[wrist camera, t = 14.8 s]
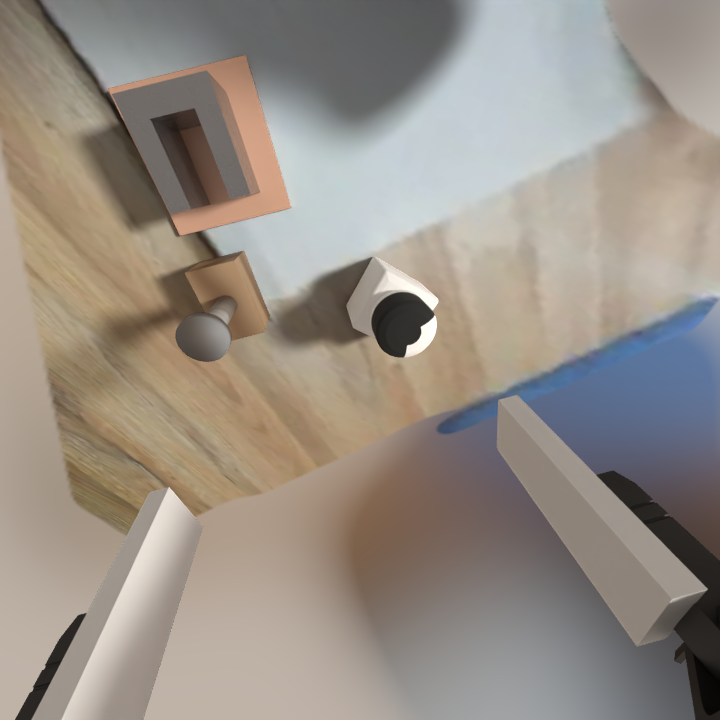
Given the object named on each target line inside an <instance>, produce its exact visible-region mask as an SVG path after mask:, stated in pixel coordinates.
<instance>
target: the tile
mask: <svg viewBox="0 0 720 720" xmlns="http://www.w3.org/2000/svg"><path fill="white" fill-rule="evenodd" d="M206 70H207V71H208V72H209V73H210V74H211V76H212V77H213V78H214V79H215V80H216V81H217V82H218V83H219V84H220V85H221V87H222V88H223V89H224V90H225V91H226V92H227V95H228V98H229V101H230V104H231V107H232V110H233V113H234V116H235V119H236V122H237V125H238V128H239V131H240V134H241V136H242V139H243V142H244V145H245V148H246V151H247V154H248V157H249V160H250V163H251V166H252V169H253V172H254V175H255V178H256V181H257V184H258V187H259V190H260V193H256V194H252V195H248V196H244V197H240V198H235V199H230V198H229V195H228V192H227V190H226V187H225V185H224V182H223V180H222V177H221V174H220V172H219V169H218V167H217V164H216V162H215V159H214V156H213V154H212V151H211V149H210V146H209V144H208V141H207V138H206V136H205V133H204V131H203V128H202V126H197V127H193V128H189V129H185V130H181V131H180V133H181V135H182V138H183V140H184V143H185V145H186V147H187V150H188V152H189V154H190V157H191V159H192V161H193V164H194V166H195V169H196V171H197V173H198V176H199V178H200V180H201V183H202V185H203V188H204V190H205V192H206V195H207V197H208V199H209V202H210V204H211V205H209V206H205V207H201V208H197V209H193V210H188V211H184V212H179V213H175V214H170V212H169V210H168V208H167V206H166V204H165V202H164V200H163V198H162V196H161V194H160V192H159V190H158V188H157V186H156V184H155V182H154V180H153V178H152V175H151V173H150V171H149V169H148V167H147V165H146V163H145V161H144V159H143V157H142V155H141V153H140V151H139V149H138V147H137V145H136V143H135V141H134V139H133V137H132V135H131V133H130V131H129V129H128V127H127V125H126V123H125V121H124V119H123V117H122V114H121V112H120V110H119V108H118V106H117V104H116V102H115V100H114V98H113V96H112V94H113V93H117V92H121V91H125V90H129V89H133V88H137V87H141V86H145V85H149V84H153V83H157V82H162V81H166V80H170V79H174V78H178V77H182V76H186V75H190V74H194V73H198V72H202V71H206ZM108 90H109V92H110V94H111V96H112V98H113V100H114V102H115V105H116V107H117V109H118V111H119V113H120V115H121V117H122V119H123V121H124V123H125V125H126V127H127V129H128V131H129V133H130V135H131V137H132V139H133V141H134V143H135V145H136V147H137V149H138V151H139V153H140V155H141V157H142V159H143V161H144V163H145V165H146V167H147V169H148V171H149V173H150V175H151V178H152V180H153V182H154V184H155V186H156V188H157V190H158V192H159V194H160V196H161V198H162V200H163V202H164V204H165V206H166V208H167V210H168V212H169V214H170V216H171V218H172V220H173V222H174V224H175V226H176V228H177V230H178V232H179V234H180V236H182V235H186V234H190V233H193V232H197V231H201V230H205V229H209V228H213V227H217V226H221V225H225V224H229V223H233V222H237V221H241V220H245V219H249V218H253V217H257V216H261V215H265V214H268V213H272V212H276V211H280V210H284V209H288V208H291V204H290V201H289V198H288V194H287V191H286V188H285V184H284V181H283V178H282V174H281V171H280V168H279V164H278V161H277V158H276V154H275V151H274V148H273V144H272V141H271V138H270V134H269V131H268V128H267V124H266V121H265V117H264V114H263V111H262V107H261V104H260V101H259V97H258V94H257V91H256V87H255V84H254V81H253V77H252V74H251V71H250V67H249V64H248V61H247V57H246V55H243V56H238V57H234V58H230V59H226V60H222V61H218V62H214V63H210V64H206V65H202V66H198V67H194V68H190V69H186V70H181V71H177V72H173V73H169V74H165V75H161V76H157V77H153V78H149V79H145V80H141V81H137V82H133V83H129V84H125V85H120V86H116V87H112V88H108Z"/></svg>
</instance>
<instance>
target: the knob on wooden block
mask: <svg viewBox="0 0 720 720" xmlns="http://www.w3.org/2000/svg"><path fill="white" fill-rule="evenodd" d="M185 275H186V277H187V279H188V281H189V283H190V284H191V286H192V288H193V290H194V292H195V294H196V296H197V298H198V300H199V302H200V304H201V306H202V308H203V310H204V312H205V313H204V312H200V313H194V314H191V315H189V316H188V317H186V318H185V319H184V320H183V321H182V322H181V324H180V325H179V326H178V328H177V330H176V341H177V344H178V346H179V348H180V349H181V350H182V351H183V352H184V353H185V354H186V355H187V356H189V357H191V358H193V359H195V360H198V361H204V362H210V361H215V360H218V359H220V358H221V357H223V356H224V355H225V354H226V352H227V351H228V349H229V347H230V344H231V341H232V340H236V339H240V338H244V337H248V336H251V335H255V334H259V333H263V332H265V329H266V326H267V323H268V319H269V316H270V315H269V313H268V310H267V308H266V305H265V303H264V300H263V298H262V295H261V293H260V290H259V288H258V285H257V283H256V280H255V278H254V275H253V273H252V270H251V268H250V265H249V263H248V260H247V258H246V255H245V253H244V251H241V252H237V253H233V254H229V255H225V256H221V257H217V258H214V259H210V260H206V261H202V262H199V263H198V264H197V265H195V266H194V267H192V268H191V269H190V270H188V271H187V272H185Z"/></svg>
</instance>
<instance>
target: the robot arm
mask: <svg viewBox="0 0 720 720" xmlns="http://www.w3.org/2000/svg"><path fill="white" fill-rule="evenodd" d="M497 449H498V451H499V452H500V453H501V455H502V456H503V458H504V459H505V461H506V462H507V463H508V465H509V466H510V468H511V469H512V470H513V472H514V473H515V475H516V476H517V477H518V479H519V480H520V482H521V483H522V485H523V486H524V487H525V489H526V490H527V492H528V493H529V495H530V496H531V497H532V499H533V500H534V502H535V503H536V504H537V506H538V507H539V509H540V510H541V511H542V513H543V514H544V516H545V517H546V519H547V520H548V521H549V523H550V524H551V526H552V527H553V528H554V530H555V531H556V533H557V534H558V535H559V537H560V538H561V540H562V541H563V543H564V544H565V545H566V547H567V548H568V550H569V551H570V552H571V554H572V555H573V557H574V558H575V560H576V561H577V562H578V564H579V565H580V567H581V568H582V569H583V571H584V572H585V573H586V575H587V577H588V578H589V579H590V581H591V582H592V584H593V585H594V586H595V588H596V589H597V591H598V592H599V594H600V595H601V596H602V597H603V599H604V601H605V602H606V603H607V605H608V606H609V608H610V609H611V611H612V612H613V613H614V615H615V616H616V618H617V619H618V620H619V622H620V623H621V625H622V626H623V627H624V629H625V630H626V632H627V633H628V635H629V636H630V637H631V639H632V640H633V642H634V643H635V644H636V646H640V645H644V644H647V643H651V642H655V641H658V640H662V639H665V638H667V637H668V636H669V634H670V633H671V632H672V631H673V630H675V631H676V632H677V634H678V635H679V636H680V637H681V638H682V640H683V641H684V642H683V643H682V644H681V646H680V647H679V648H678V649H677V650H676V651H675V658H674V660H675V661H676V662H678V663H682V662H683V661H684V660H685V659H686V663H687V668H688V675H689V680H690V688H691V693H692V700H693V706H694V713H695V718H696V720H720V561H719V560H718V559H717V558H716V557H715V556H713V554H711V553H710V552H709V551H708V550H707V549H706V548H705V547H704V546H703V545H702V544H700V543H699V541H697V540H696V539H695V538H694V537H693V536H692V535H691V534H690V533H689V532H688V531H687V530H685V529H684V528H683V527H682V526H681V525H680V524H679V523H678V522H677V521H676V520H674V519H673V518H672V517H670V516H669V515H668V513H667V512H666V511H665V510H664V509H663V508H662V507H660V506H659V505H658V504H657V503H654V502H653V499H652V498H651V497H650V496H648V495H647V494H646V493H645V492H644V491H643V490H642V489H641V488H640V487H638V485H637V484H635V483H634V482H632V481H630V480H629V479H627V478H625V477H624V476H622V475H620V474H618V473H616V472H615V471H609V472H606V473H602V474H599V475H595V474H594V473H593V472H592V471H591V470H590V469H589V468H588V467H587V465H586V464H585V463H583V461H582V460H580V458H579V457H578V456H577V455H576V454H575V453H573V451H572V450H571V449H570V448H569V447H568V446H567V445H566V444H565V443H564V442H563V441H562V440H561V439H560V438H559V437H558V436H557V435H556V434H555V433H554V432H553V431H552V430H551V429H550V428H549V427H548V426H547V425H546V424H545V423H544V422H543V421H542V420H541V419H540V418H539V417H538V416H537V415H536V414H535V413H534V412H533V411H532V410H531V408H530V407H529V406H528V405H527V404H526V403H525V402H524V401H523V400H522V399H521V398H520V397H519V396H518V395H515V396H512V397H508V398H504V399H500V400H498V428H497ZM202 529H203V526H202V525H201V524H200V523H199V521H198V520H197V519H196V518H195V517H194V515H193V514H192V513H191V512H190V511H189V510H188V509H187V507H186V506H185V505H184V504H183V503H182V502H181V500H180V499H179V498H178V497H177V496H176V495H175V493H174V492H173V491H172V490H171V489H170V488H169V487H167V488H164V489H160V490H156V491H152V492H149V494H148V496H147V498H146V500H145V502H144V504H143V506H142V508H141V510H140V512H139V513H138V515H137V517H136V519H135V521H134V523H133V525H132V527H131V529H130V531H129V533H128V535H127V537H126V538H125V540H124V542H123V544H122V546H121V548H120V550H119V552H118V554H117V556H116V558H115V560H114V562H113V564H112V565H111V567H110V569H109V571H108V573H107V575H106V577H105V579H104V581H103V583H102V585H101V587H100V589H99V591H98V593H97V595H96V596H95V598H94V600H93V602H92V604H91V606H90V608H89V610H88V612H87V613H85V614H81V615H78V616H77V618H76V619H75V620H74V621H73V623H72V624H71V625H70V626H69V628H68V629H67V630H66V631H65V633H64V634H63V635H62V636H61V638H60V639H59V641H58V643H57V644H56V646H55V648H54V650H53V652H52V653H51V655H50V657H49V659H48V661H47V663H46V664H45V665H46V667H45V669H44V670H42V672H41V673H40V675H39V677H38V679H37V681H36V683H35V685H34V686H33V687H34V689H33V691H32V692H31V693H29V695H28V697H27V699H26V701H25V703H24V705H23V706H22V708H21V710H20V712H19V714H18V716H17V717H16V719H15V720H143V719H144V716H145V712H146V709H147V706H148V702H149V699H150V696H151V693H152V690H153V687H154V683H155V680H156V677H157V674H158V670H159V667H160V664H161V661H162V658H163V654H164V651H165V648H166V645H167V641H168V638H169V635H170V632H171V629H172V625H173V622H174V619H175V615H176V613H177V609H178V606H179V603H180V600H181V596H182V593H183V590H184V587H185V583H186V580H187V577H188V574H189V570H190V567H191V564H192V561H193V558H194V555H195V551H196V548H197V545H198V542H199V538H200V535H201V532H202Z"/></svg>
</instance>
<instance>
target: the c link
mask: <svg viewBox="0 0 720 720" xmlns="http://www.w3.org/2000/svg"><path fill="white" fill-rule="evenodd" d="M112 96H113V98H114V100H115V102H116V104H117V106H118V108H119V110H120V112H121V114H122V117H123V119H124V121H125V123H126V125H127V127H128V129H129V131H130V133H131V135H132V137H133V139H134V141H135V143H136V145H137V147H138V149H139V151H140V153H141V155H142V157H143V159H144V161H145V163H146V165H147V167H148V169H149V171H150V173H151V175H152V178H153V180H154V182H155V184H156V186H157V188H158V190H159V192H160V194H161V196H162V198H163V200H164V202H165V204H166V206H167V208H168V210H169V212H170V214H175V213H179V212H184V211H188V210H193V209H197V208H201V207H205V206H209V205H211V204H210V202H209V199H208V197H207V195H206V192H205V190H204V188H203V185H202V183H201V180H200V178H199V176H198V173H197V171H196V169H195V166H194V164H193V161H192V159H191V157H190V154H189V152H188V150H187V147H186V145H185V143H184V140H183V138H182V135H181V133H180V131H181V130H185V129H189V128H193V127H197V126H202V128H203V131H204V133H205V136H206V138H207V141H208V144H209V146H210V149H211V151H212V154H213V156H214V159H215V162H216V164H217V167H218V169H219V172H220V174H221V177H222V180H223V182H224V185H225V187H226V190H227V192H228V195H229V198H230V199H235V198H240V197H244V196H248V195H252V194H256V193H260V190H259V187H258V184H257V181H256V178H255V175H254V172H253V169H252V166H251V163H250V160H249V157H248V154H247V151H246V148H245V145H244V142H243V139H242V136H241V134H240V131H239V128H238V125H237V122H236V119H235V116H234V113H233V110H232V107H231V104H230V101H229V98H228V95H227V92H226V91H225V90H224V89H223V88H222V87H221V85H220V84H219V83H218V82H217V81H216V80H215V79H214V78H213V77H212V76H211V74H210V73H209V72H208V71H207V70H206V71H202V72H198V73H194V74H190V75H186V76H182V77H178V78H174V79H170V80H166V81H162V82H157V83H153V84H149V85H145V86H141V87H137V88H133V89H129V90H125V91H121V92H117V93H113V94H112Z"/></svg>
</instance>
